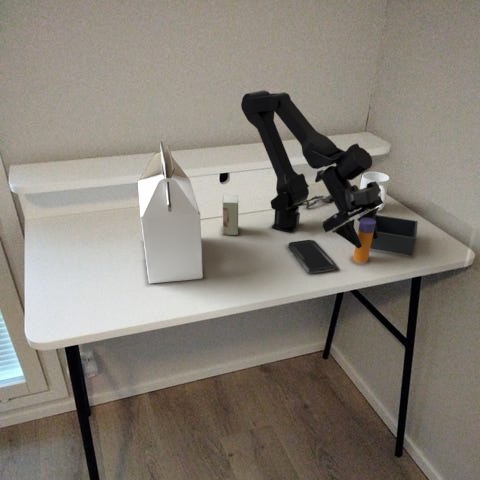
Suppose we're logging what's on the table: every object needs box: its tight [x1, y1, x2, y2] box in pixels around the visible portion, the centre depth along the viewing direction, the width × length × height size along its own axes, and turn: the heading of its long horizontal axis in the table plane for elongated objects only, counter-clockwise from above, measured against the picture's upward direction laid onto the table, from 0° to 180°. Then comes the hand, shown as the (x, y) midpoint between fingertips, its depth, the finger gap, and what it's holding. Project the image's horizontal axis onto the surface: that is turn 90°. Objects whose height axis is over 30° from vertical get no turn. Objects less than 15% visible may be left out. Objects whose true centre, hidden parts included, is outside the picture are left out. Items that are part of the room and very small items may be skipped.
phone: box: [287, 239, 337, 274], centre depth 124 cm, size 8×1×15 cm
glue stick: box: [352, 218, 376, 263], centre depth 120 cm, size 4×4×12 cm
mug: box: [359, 171, 390, 212], centre depth 145 cm, size 12×8×10 cm
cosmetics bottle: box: [222, 194, 239, 236], centre depth 132 cm, size 5×4×10 cm
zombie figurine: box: [303, 194, 331, 210], centre depth 151 cm, size 5×7×15 cm
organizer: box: [370, 214, 419, 257], centre depth 129 cm, size 12×11×6 cm
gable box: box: [137, 141, 204, 284], centre depth 114 cm, size 22×13×28 cm, turn 11°
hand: (368, 243), depth 119 cm, fingers open, 7 cm apart
